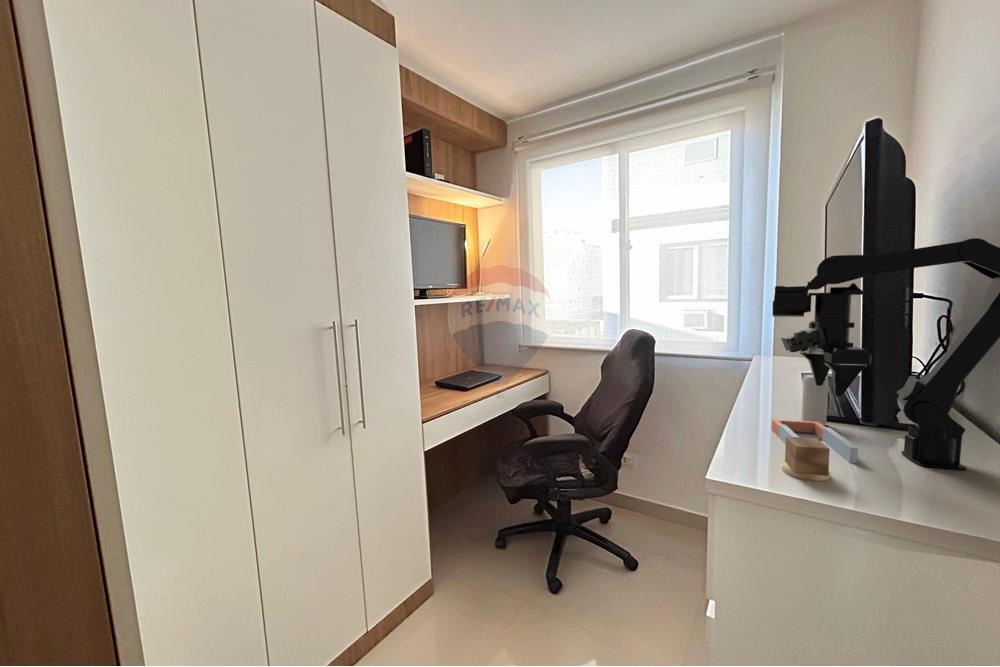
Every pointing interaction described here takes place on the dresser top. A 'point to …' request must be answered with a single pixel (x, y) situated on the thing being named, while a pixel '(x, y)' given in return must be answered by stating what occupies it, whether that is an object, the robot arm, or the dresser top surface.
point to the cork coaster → (804, 476)
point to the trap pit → (800, 428)
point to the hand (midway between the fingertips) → (828, 390)
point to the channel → (828, 442)
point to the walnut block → (807, 456)
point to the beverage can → (814, 400)
